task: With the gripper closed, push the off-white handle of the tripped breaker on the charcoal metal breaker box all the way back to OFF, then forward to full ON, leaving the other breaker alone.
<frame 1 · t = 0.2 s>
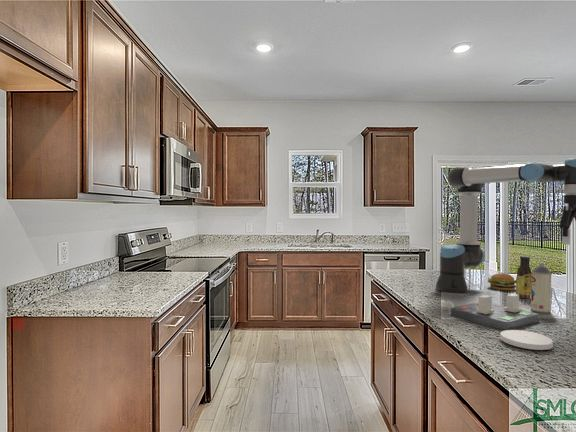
hand: (573, 243, 166), 28 cm above the worktop, tool pointing down, fingers open, 13 cm apart
plastic lid: (525, 345, 121), on the worktop
breaker box: (493, 318, 149), on the worktop
sauce bottle: (523, 297, 186), on the worktop
aerosol can: (540, 311, 160), on the worktop
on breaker: (512, 302, 148), point 6 cm above the worktop, slide at 8.0 cm
tripped breaker: (485, 304, 145), point 6 cm above the worktop, slide at 4.0 cm
food: (501, 289, 207), on the worktop
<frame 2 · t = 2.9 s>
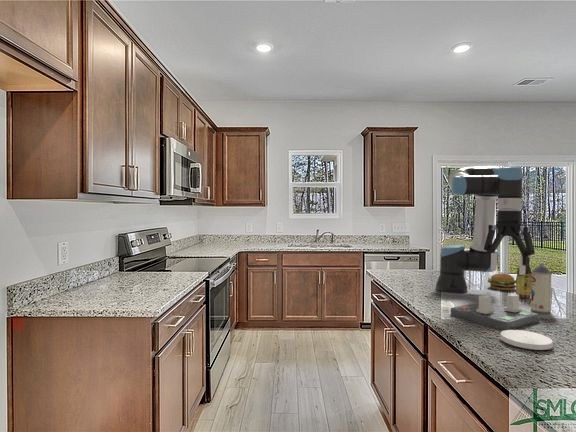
hand: (507, 272, 138), 20 cm above the worktop, tool pointing down, fingers open, 9 cm apart
nothing on the worktop moved.
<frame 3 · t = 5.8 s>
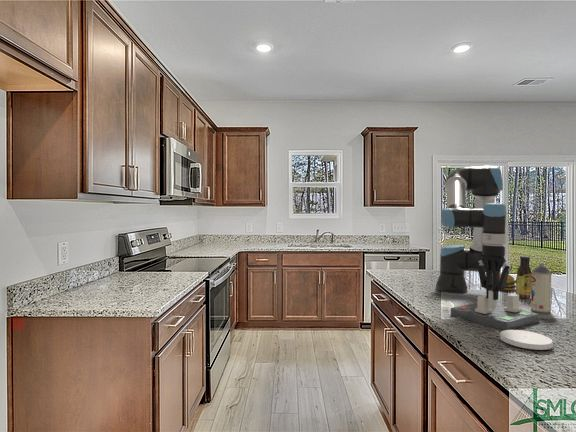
hand: (492, 307, 143), 5 cm above the worktop, tool pointing down, fingers closed
tripped breaker: (483, 303, 146), point 6 cm above the worktop, slide at 3.5 cm, touching gripper
everything else where it was.
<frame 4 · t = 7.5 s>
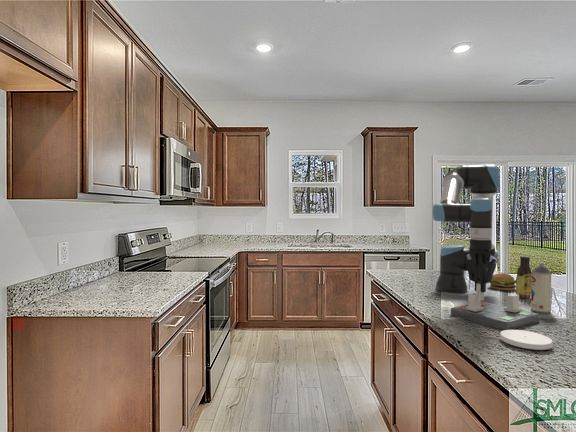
hand: (480, 300, 148), 7 cm above the worktop, tool pointing down, fingers closed
tripped breaker: (474, 301, 149), point 6 cm above the worktop, slide at -0.2 cm, touching gripper
everything else where it was.
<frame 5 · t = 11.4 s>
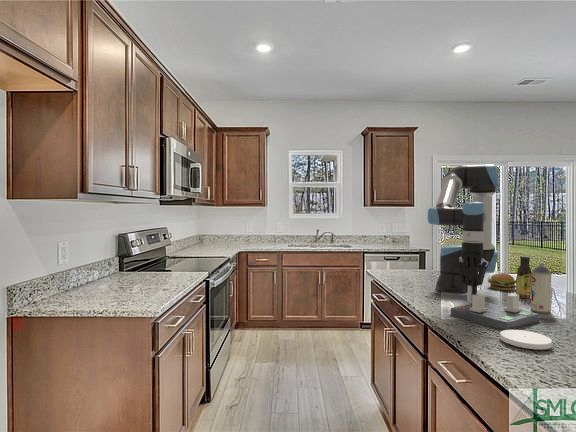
hand: (471, 302, 150), 6 cm above the worktop, tool pointing down, fingers closed
tripped breaker: (478, 302, 148), point 6 cm above the worktop, slide at 1.4 cm, touching gripper
everything else where it was.
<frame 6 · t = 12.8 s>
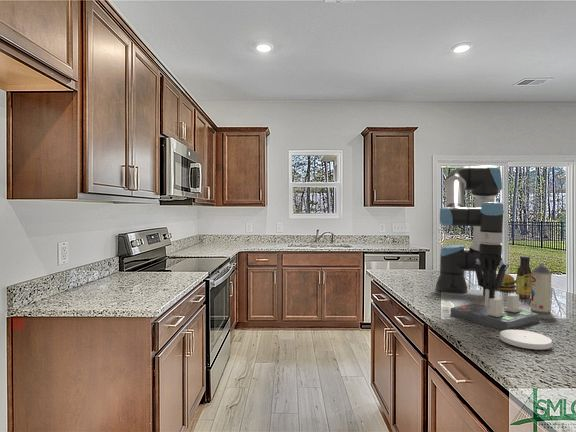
hand: (488, 306, 144), 6 cm above the worktop, tool pointing down, fingers closed
tripped breaker: (496, 306, 142), point 6 cm above the worktop, slide at 8.2 cm, touching gripper
everything else where it was.
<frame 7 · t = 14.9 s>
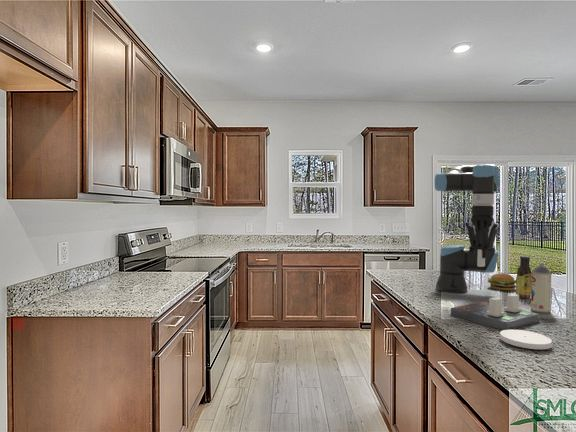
hand: (481, 266, 148), 20 cm above the worktop, tool pointing down, fingers closed
tripped breaker: (495, 306, 142), point 6 cm above the worktop, slide at 8.0 cm
everything else where it was.
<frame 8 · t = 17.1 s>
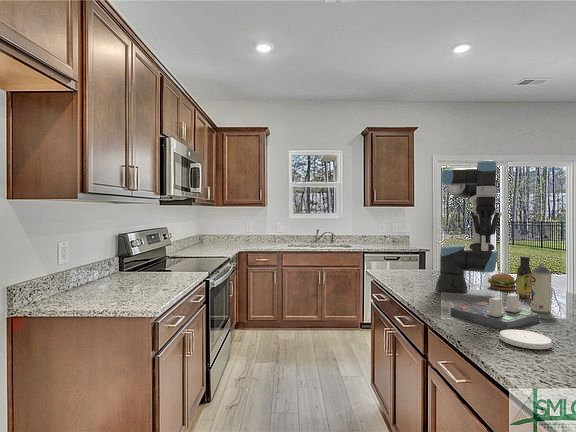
hand: (484, 250, 167), 24 cm above the worktop, tool pointing down, fingers closed
nothing on the worktop moved.
at the end: tripped breaker slide at 8.0 cm; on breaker slide at 8.0 cm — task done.
